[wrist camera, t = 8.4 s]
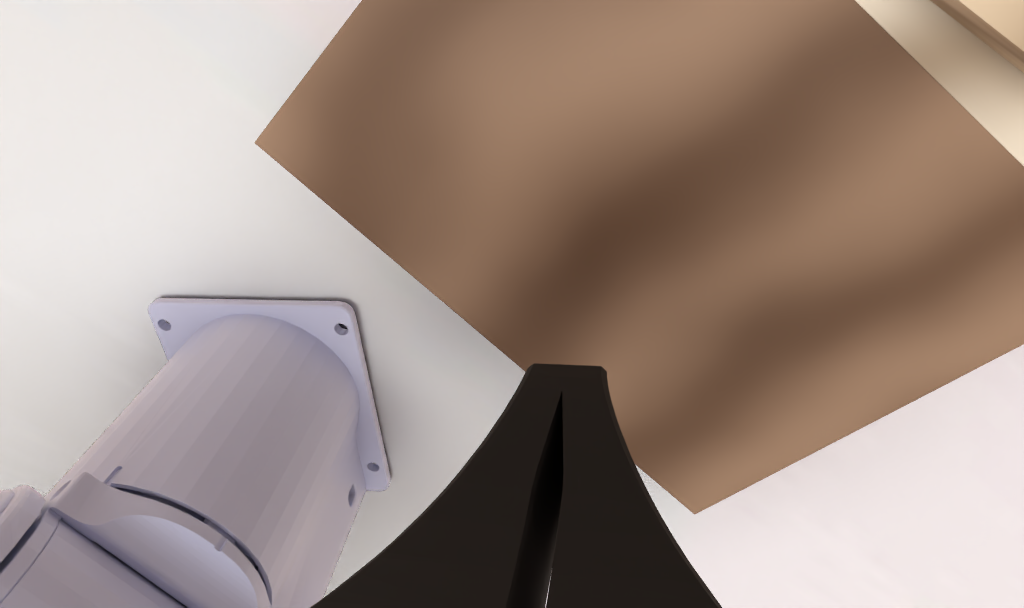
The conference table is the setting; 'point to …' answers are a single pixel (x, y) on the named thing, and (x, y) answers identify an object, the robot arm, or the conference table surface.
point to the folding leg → (992, 24)
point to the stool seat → (688, 203)
